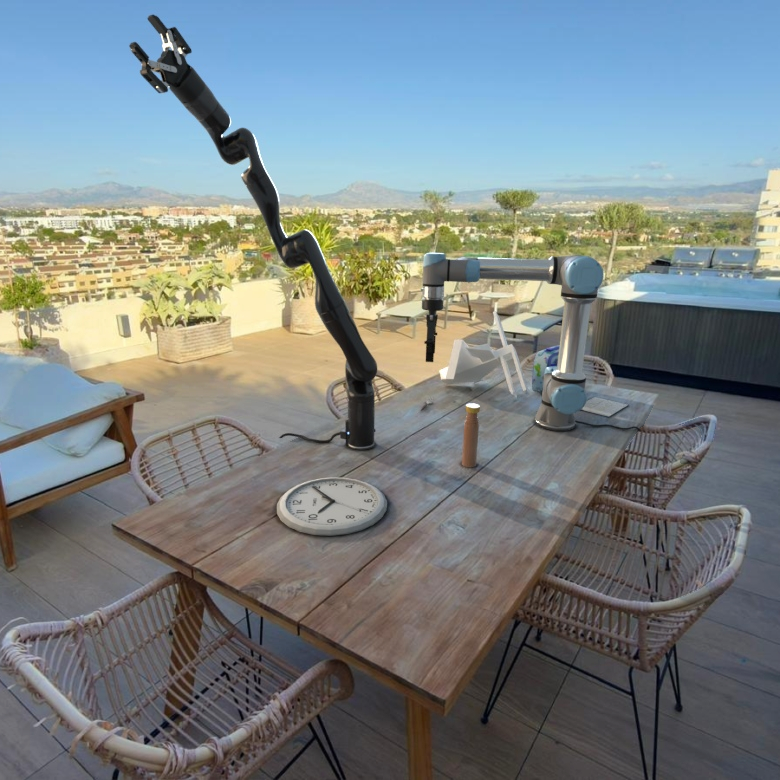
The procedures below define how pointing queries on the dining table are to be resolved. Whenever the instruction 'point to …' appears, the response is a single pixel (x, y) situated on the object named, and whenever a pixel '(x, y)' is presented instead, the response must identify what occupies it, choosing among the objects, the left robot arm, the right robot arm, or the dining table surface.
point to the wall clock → (331, 506)
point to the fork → (427, 403)
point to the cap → (472, 408)
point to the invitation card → (603, 406)
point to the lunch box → (543, 366)
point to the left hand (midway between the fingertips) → (141, 29)
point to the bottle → (470, 440)
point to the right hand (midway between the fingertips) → (430, 357)
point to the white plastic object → (482, 362)
